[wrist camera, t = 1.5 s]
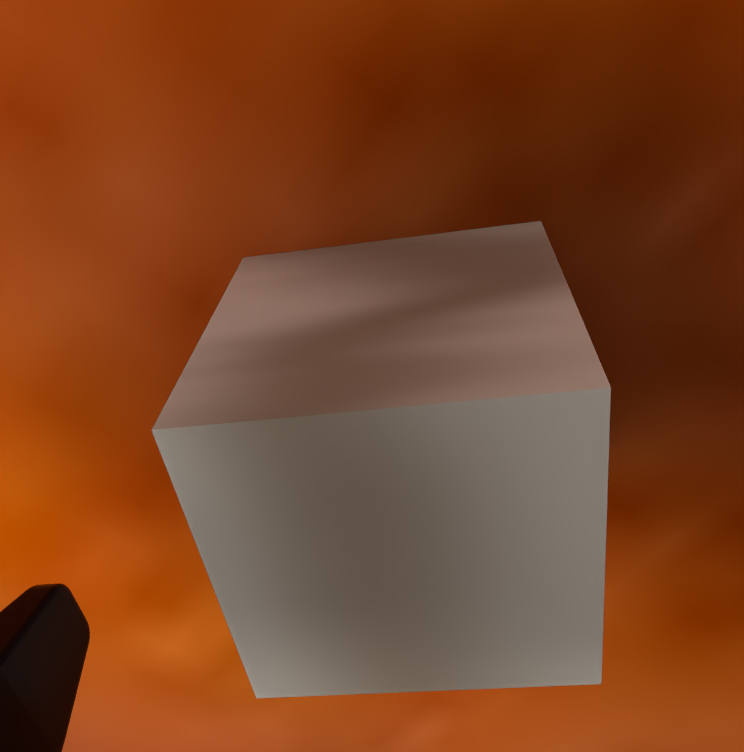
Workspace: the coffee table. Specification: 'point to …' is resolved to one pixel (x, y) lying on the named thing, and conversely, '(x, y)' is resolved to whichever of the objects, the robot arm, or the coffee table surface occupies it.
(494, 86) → the coffee table surface
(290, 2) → the coffee table surface
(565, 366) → the cream cube
